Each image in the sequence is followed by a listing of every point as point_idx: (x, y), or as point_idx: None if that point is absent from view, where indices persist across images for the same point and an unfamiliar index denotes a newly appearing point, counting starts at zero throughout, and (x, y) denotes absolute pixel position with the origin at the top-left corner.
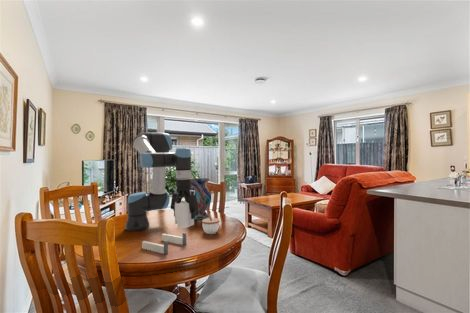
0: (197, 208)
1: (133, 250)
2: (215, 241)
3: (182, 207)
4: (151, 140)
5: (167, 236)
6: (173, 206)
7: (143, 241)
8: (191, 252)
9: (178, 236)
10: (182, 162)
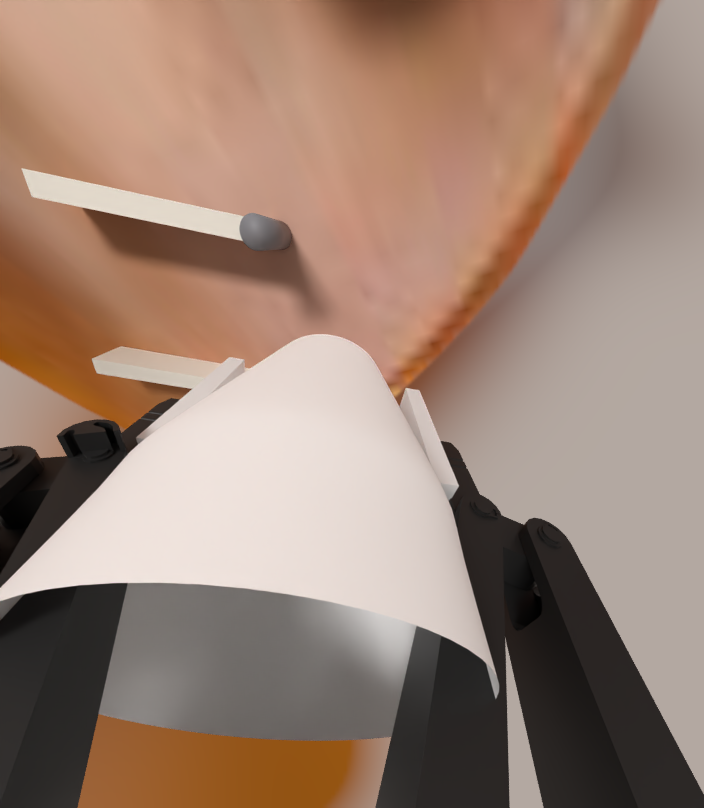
0: (564, 565)
1: (115, 385)
2: (477, 69)
3: (347, 644)
4: None
5: (106, 211)
6: (22, 513)
7: (98, 367)
8: (380, 337)
9: (199, 210)
10: None
